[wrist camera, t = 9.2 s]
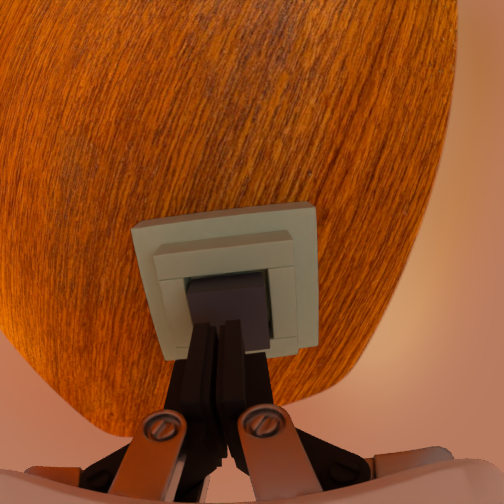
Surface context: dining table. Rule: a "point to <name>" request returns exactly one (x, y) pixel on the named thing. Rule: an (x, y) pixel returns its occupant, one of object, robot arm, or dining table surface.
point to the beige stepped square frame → (233, 269)
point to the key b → (232, 305)
